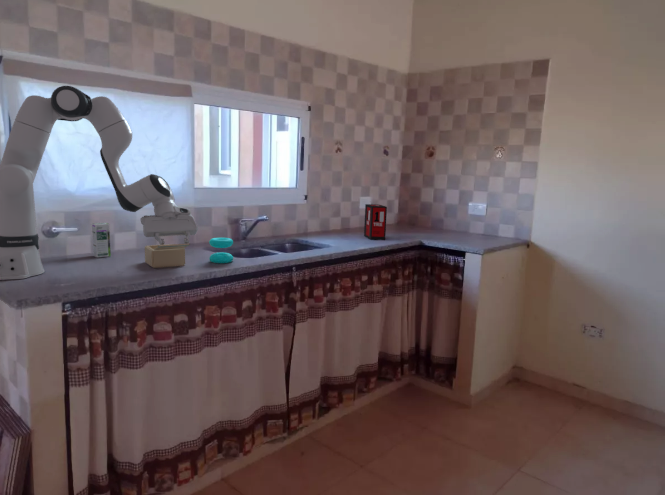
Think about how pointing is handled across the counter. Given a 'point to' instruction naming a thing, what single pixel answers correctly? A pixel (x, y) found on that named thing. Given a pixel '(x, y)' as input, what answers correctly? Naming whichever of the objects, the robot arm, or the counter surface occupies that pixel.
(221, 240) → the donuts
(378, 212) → the cleaning product box
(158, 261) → the carton
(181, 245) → the flap
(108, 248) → the syrup box
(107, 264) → the counter surface
